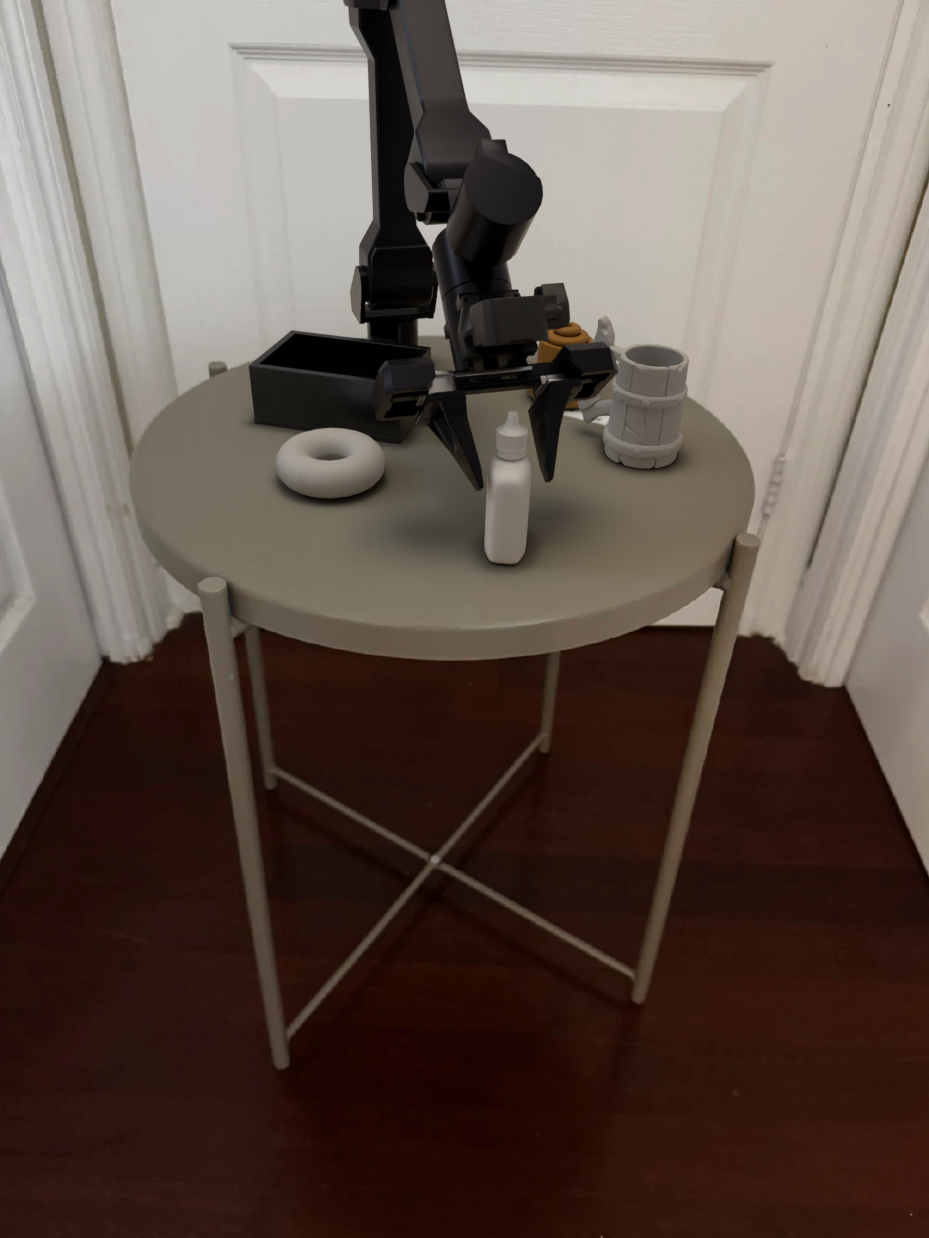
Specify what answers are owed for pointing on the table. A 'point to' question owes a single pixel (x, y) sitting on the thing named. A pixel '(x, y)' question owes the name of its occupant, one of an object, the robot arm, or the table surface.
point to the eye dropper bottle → (508, 494)
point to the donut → (330, 463)
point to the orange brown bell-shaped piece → (556, 342)
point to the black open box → (326, 383)
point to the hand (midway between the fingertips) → (515, 485)
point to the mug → (641, 402)
